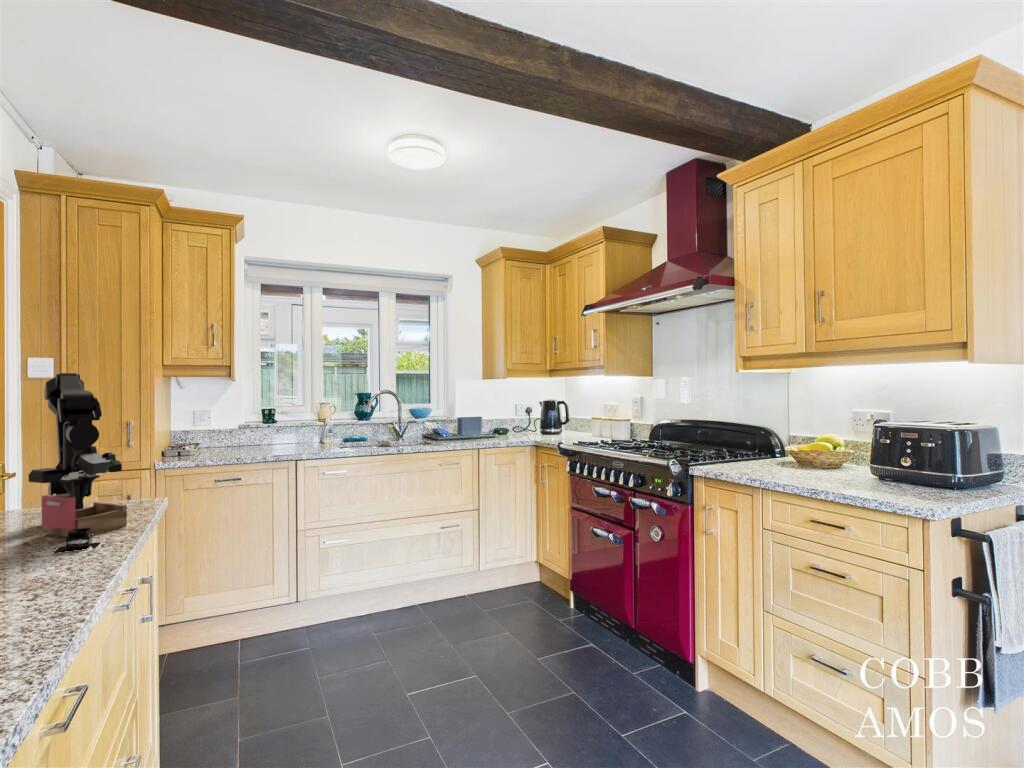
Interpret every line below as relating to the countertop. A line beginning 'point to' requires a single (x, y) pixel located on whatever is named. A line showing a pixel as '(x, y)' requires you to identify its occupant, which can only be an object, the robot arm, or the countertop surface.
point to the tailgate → (58, 512)
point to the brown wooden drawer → (96, 518)
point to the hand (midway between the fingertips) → (78, 504)
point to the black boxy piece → (78, 535)
